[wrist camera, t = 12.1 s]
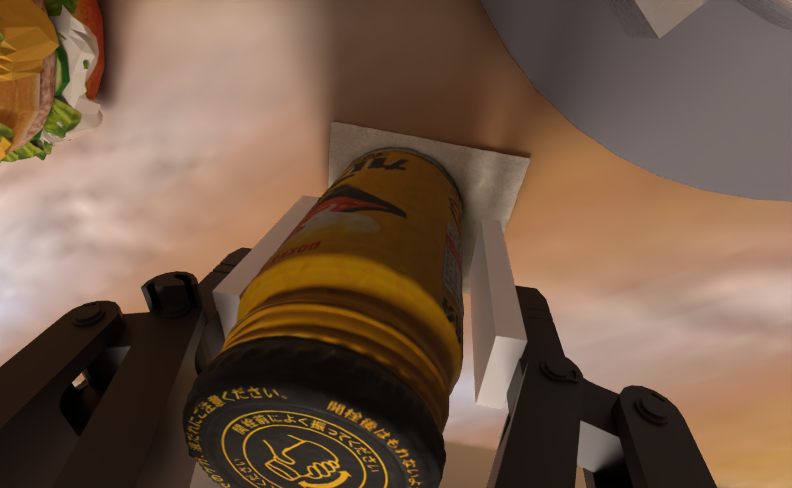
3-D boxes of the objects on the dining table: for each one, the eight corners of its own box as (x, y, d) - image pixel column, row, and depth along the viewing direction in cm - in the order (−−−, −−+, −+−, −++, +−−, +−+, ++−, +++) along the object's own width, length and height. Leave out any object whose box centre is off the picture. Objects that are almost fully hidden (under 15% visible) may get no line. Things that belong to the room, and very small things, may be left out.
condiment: (332, 120, 15) (78, 297, 5) (530, 157, 15) (685, 433, 5) (325, 259, 19) (171, 520, 9) (482, 292, 19) (510, 607, 8)
